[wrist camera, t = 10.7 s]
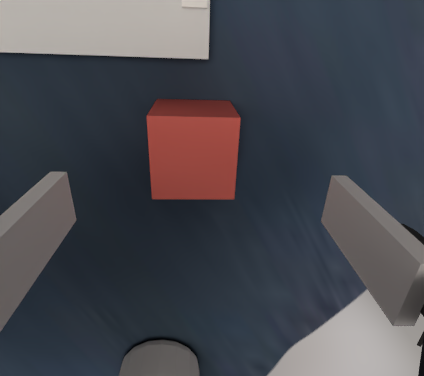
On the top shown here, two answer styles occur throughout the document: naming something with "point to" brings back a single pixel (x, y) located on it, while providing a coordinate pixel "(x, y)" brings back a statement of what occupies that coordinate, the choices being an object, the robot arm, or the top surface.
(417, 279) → the robot arm
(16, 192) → the top surface
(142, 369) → the soap bottle
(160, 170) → the brick-red cube
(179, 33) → the panel
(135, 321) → the top surface
